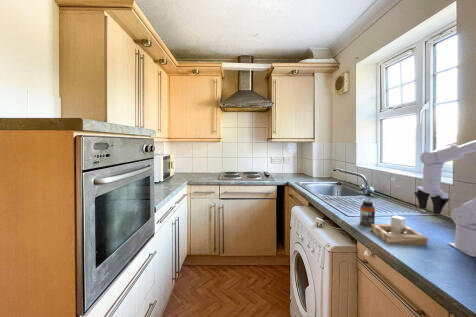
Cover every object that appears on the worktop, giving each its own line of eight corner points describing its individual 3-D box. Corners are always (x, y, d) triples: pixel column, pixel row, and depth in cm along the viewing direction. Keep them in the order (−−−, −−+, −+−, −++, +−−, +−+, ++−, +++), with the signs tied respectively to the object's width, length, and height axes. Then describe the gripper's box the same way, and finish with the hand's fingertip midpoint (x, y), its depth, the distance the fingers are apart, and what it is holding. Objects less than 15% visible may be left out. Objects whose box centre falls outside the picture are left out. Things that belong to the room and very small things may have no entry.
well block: (427, 245, 82) (427, 237, 82) (387, 243, 84) (388, 235, 83) (404, 231, 95) (405, 224, 95) (370, 230, 96) (371, 223, 96)
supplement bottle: (365, 221, 107) (366, 199, 106) (377, 225, 101) (378, 202, 101) (356, 223, 105) (357, 200, 104) (368, 227, 99) (369, 203, 99)
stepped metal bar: (406, 235, 90) (407, 217, 89) (397, 239, 86) (398, 220, 86) (396, 232, 93) (397, 214, 92) (388, 236, 89) (389, 217, 89)
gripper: (457, 182, 84) (455, 216, 85) (428, 177, 98) (426, 206, 99) (438, 182, 84) (435, 216, 85) (411, 176, 99) (410, 205, 100)
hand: (429, 210), depth 92 cm, fingers open, 7 cm apart
